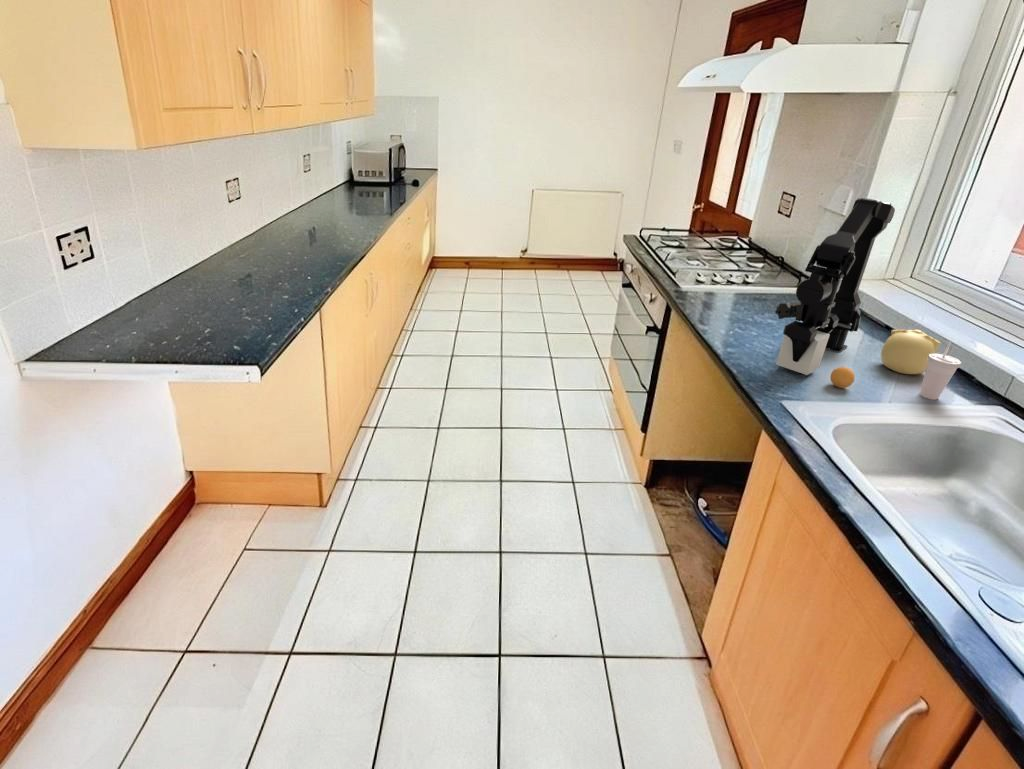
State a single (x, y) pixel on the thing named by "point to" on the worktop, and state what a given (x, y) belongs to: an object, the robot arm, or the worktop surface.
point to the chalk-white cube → (808, 360)
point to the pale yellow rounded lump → (908, 351)
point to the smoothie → (938, 373)
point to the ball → (842, 377)
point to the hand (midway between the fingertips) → (801, 357)
